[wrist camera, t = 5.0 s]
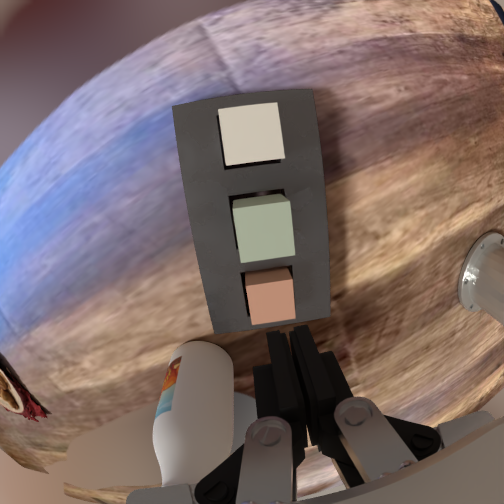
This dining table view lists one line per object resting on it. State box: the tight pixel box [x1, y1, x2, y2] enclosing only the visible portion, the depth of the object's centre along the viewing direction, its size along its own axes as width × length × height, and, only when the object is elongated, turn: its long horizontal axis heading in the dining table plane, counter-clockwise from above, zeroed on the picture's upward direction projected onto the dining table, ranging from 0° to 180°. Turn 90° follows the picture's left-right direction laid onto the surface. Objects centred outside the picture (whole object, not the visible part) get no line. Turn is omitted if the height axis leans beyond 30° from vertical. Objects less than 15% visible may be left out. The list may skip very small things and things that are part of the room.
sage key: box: [233, 194, 295, 263], centre depth 22 cm, size 4×4×4 cm
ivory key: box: [218, 102, 285, 166], centre depth 19 cm, size 4×4×4 cm
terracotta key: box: [245, 266, 295, 325], centre depth 26 cm, size 4×4×4 cm
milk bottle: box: [153, 341, 234, 487], centre depth 22 cm, size 8×8×20 cm
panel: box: [172, 89, 330, 334], centre depth 25 cm, size 12×22×3 cm, turn 8°
